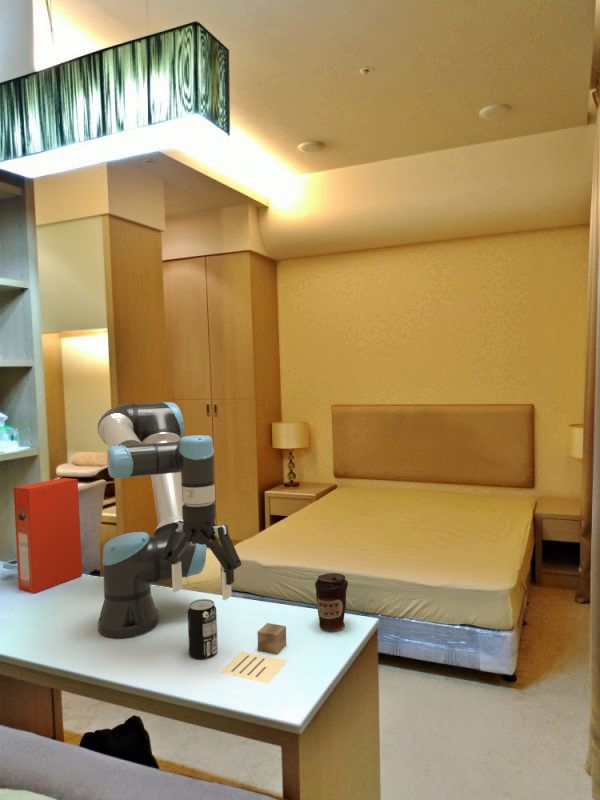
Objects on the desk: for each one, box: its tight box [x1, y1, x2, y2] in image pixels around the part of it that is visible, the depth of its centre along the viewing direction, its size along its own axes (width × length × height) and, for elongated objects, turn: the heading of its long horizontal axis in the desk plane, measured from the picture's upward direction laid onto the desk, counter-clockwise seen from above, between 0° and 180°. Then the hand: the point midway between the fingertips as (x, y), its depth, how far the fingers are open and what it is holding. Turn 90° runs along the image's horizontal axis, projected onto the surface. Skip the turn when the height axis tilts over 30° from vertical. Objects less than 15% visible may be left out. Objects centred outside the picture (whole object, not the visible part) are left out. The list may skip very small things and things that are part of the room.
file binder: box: [13, 477, 83, 594], centre depth 182 cm, size 8×17×32 cm, turn 149°
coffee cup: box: [314, 572, 349, 632], centre depth 145 cm, size 9×8×13 cm
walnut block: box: [256, 622, 287, 655], centre depth 135 cm, size 5×5×5 cm
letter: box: [219, 650, 289, 684], centre depth 126 cm, size 12×10×1 cm
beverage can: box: [187, 598, 219, 660], centre depth 133 cm, size 7×7×12 cm
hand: (201, 594), depth 132 cm, fingers open, 13 cm apart
